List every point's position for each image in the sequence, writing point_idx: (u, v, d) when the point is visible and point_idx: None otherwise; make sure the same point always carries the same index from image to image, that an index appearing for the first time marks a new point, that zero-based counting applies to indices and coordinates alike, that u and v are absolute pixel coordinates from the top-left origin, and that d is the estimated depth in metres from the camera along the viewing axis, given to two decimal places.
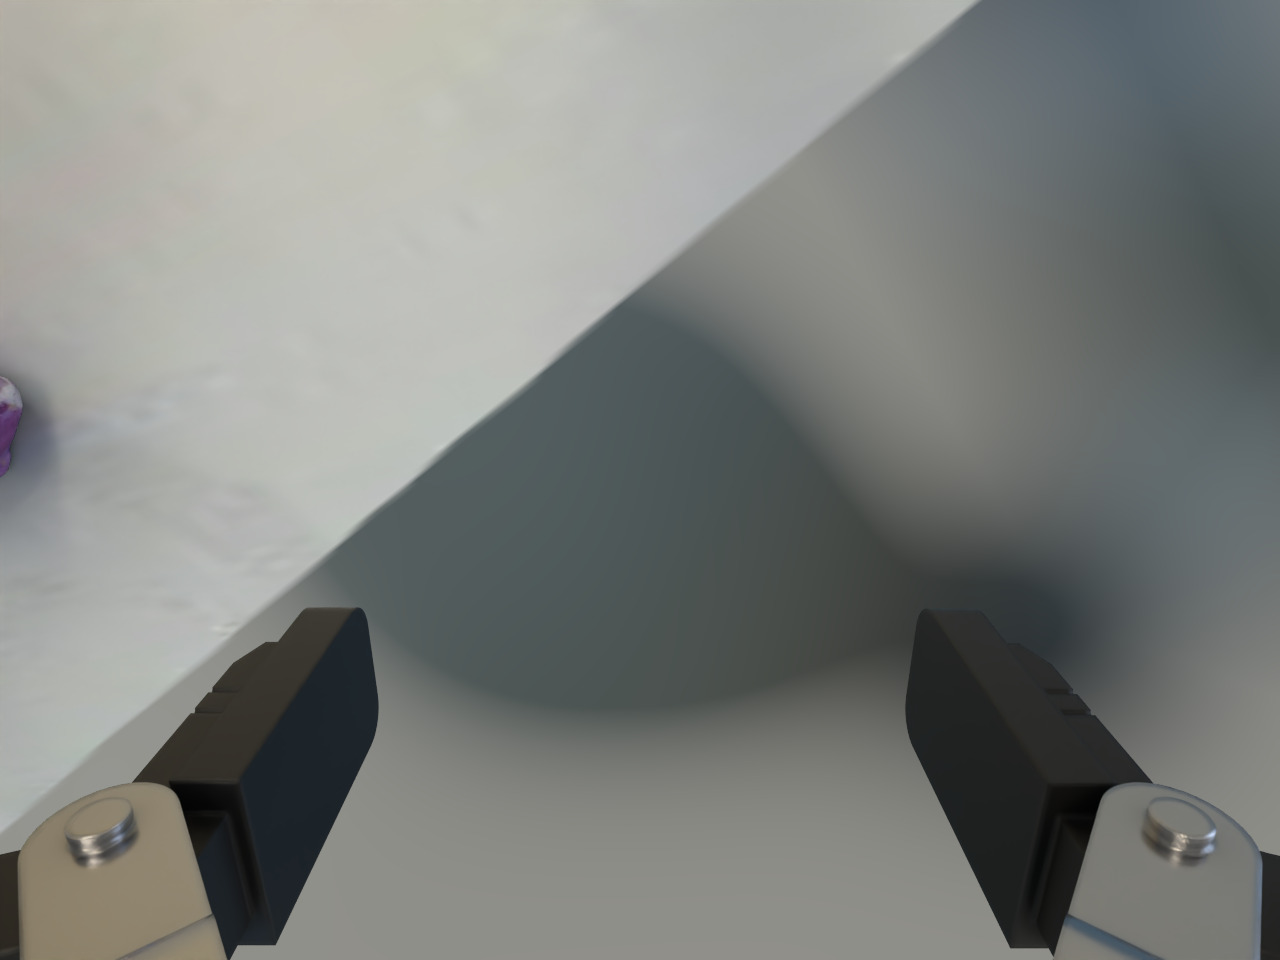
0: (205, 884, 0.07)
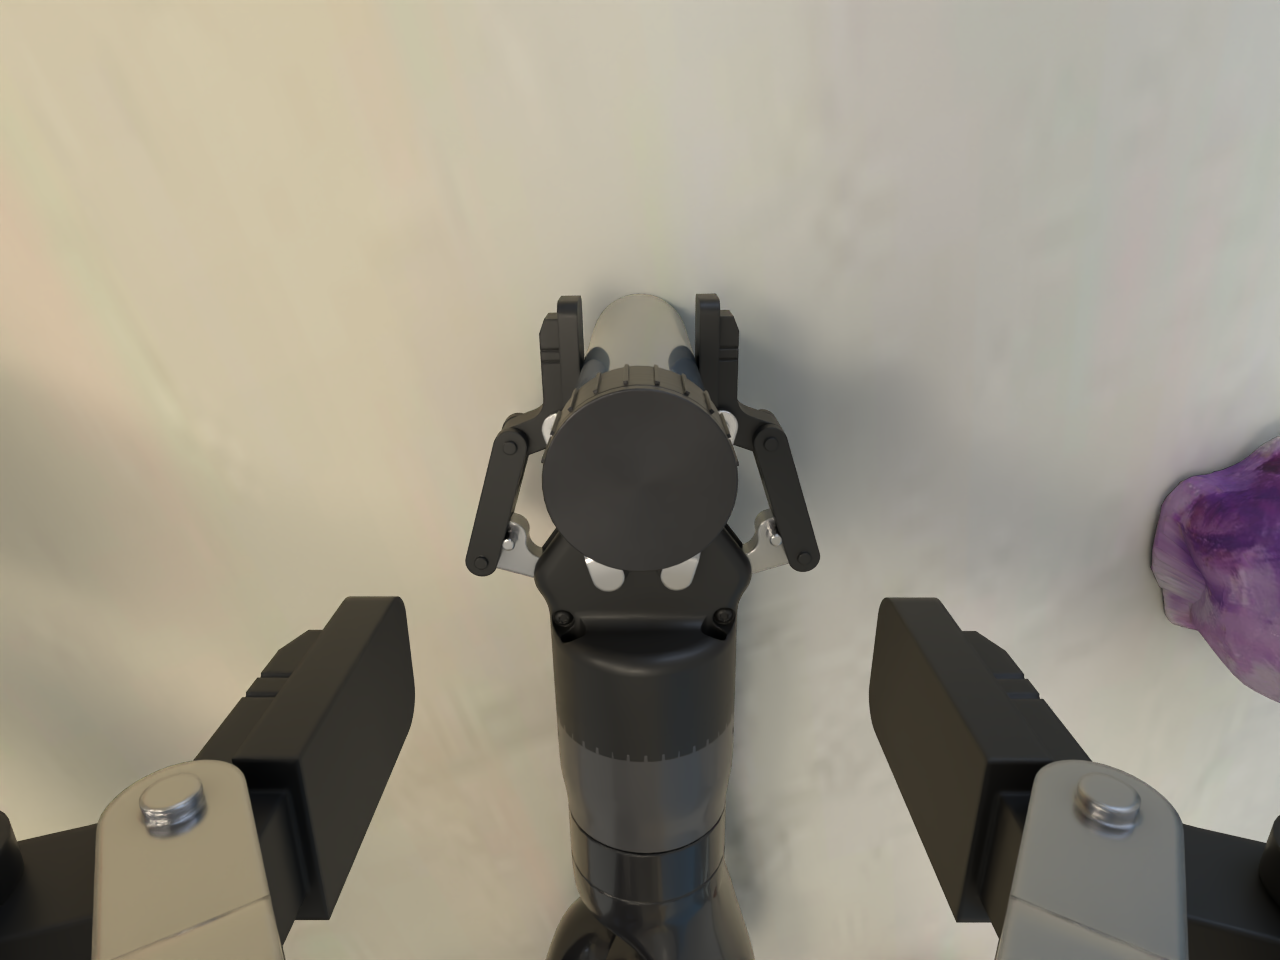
0: (268, 858, 0.08)
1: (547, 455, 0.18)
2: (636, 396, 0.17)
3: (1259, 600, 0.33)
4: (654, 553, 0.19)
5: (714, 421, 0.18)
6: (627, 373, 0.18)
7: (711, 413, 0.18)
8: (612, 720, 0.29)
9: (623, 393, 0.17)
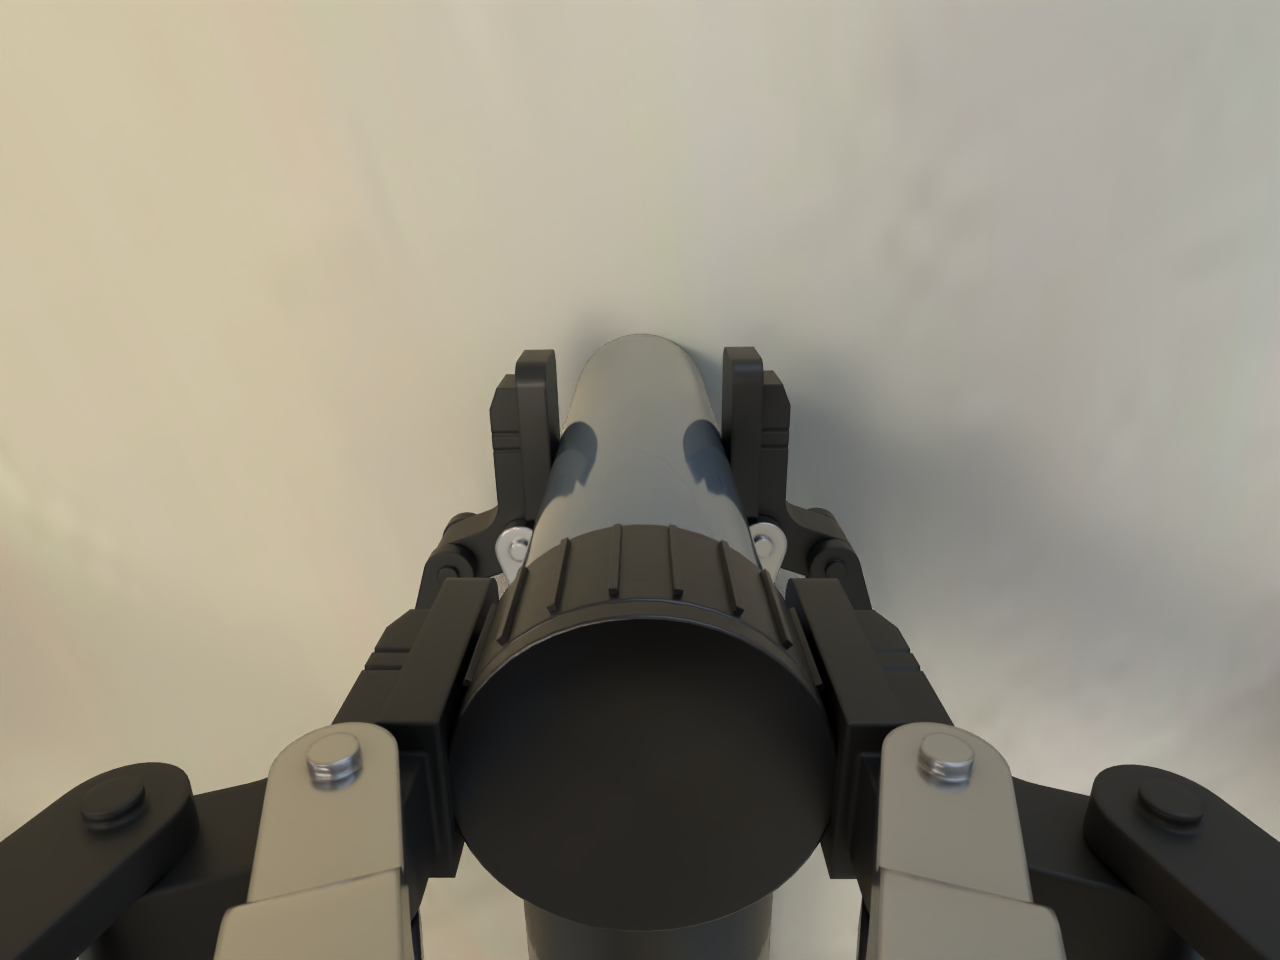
0: (414, 814, 0.08)
1: (454, 737, 0.09)
2: (635, 630, 0.08)
3: None
4: (670, 903, 0.10)
5: (796, 675, 0.09)
6: (617, 559, 0.09)
7: (787, 649, 0.09)
8: None
9: (608, 626, 0.08)
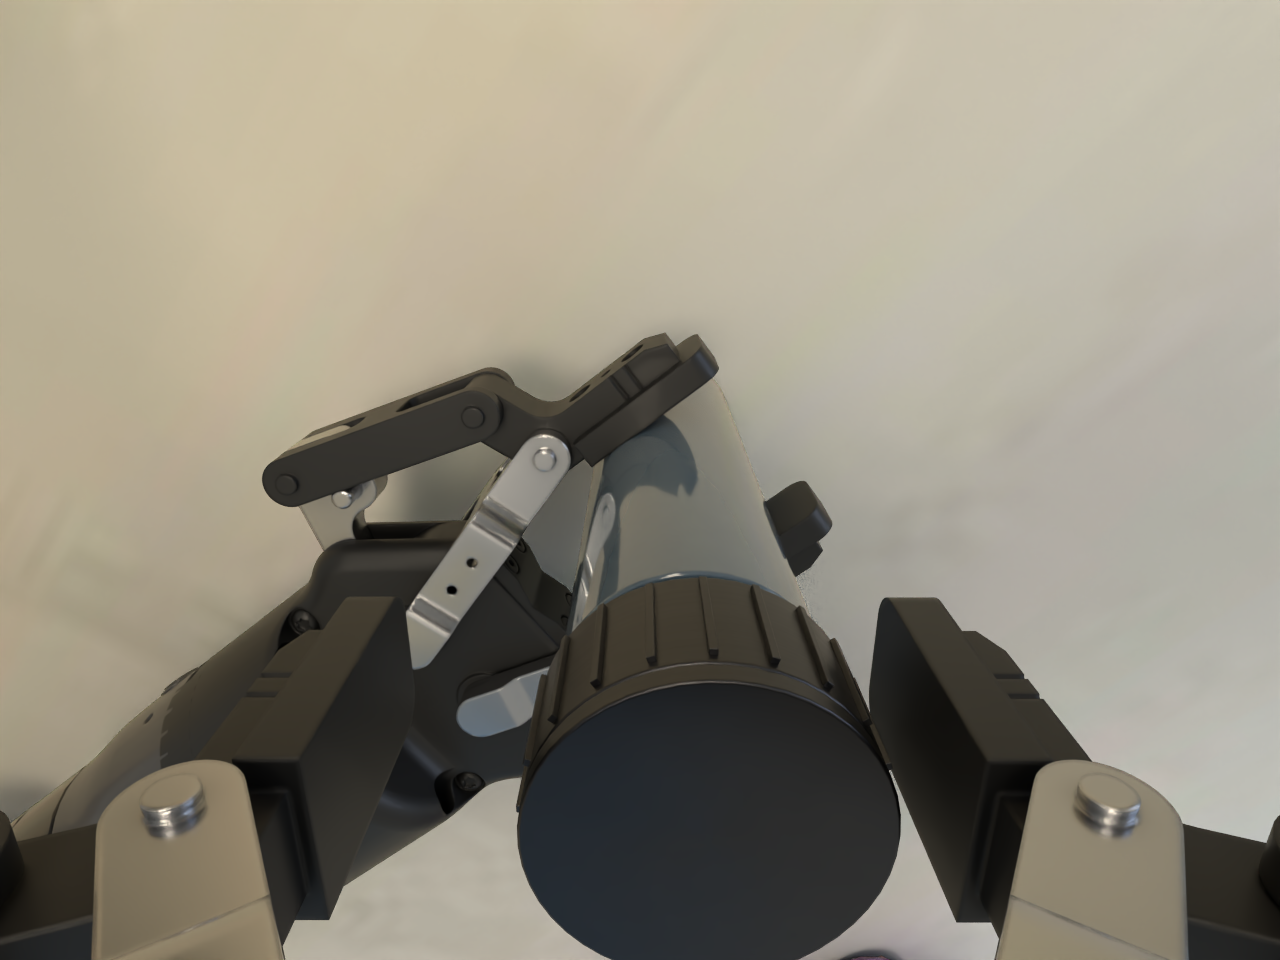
0: (268, 857, 0.08)
1: (544, 905, 0.10)
2: (575, 744, 0.09)
3: None
4: (827, 906, 0.10)
5: (725, 679, 0.09)
6: (556, 680, 0.10)
7: (715, 656, 0.09)
8: None
9: (552, 757, 0.09)
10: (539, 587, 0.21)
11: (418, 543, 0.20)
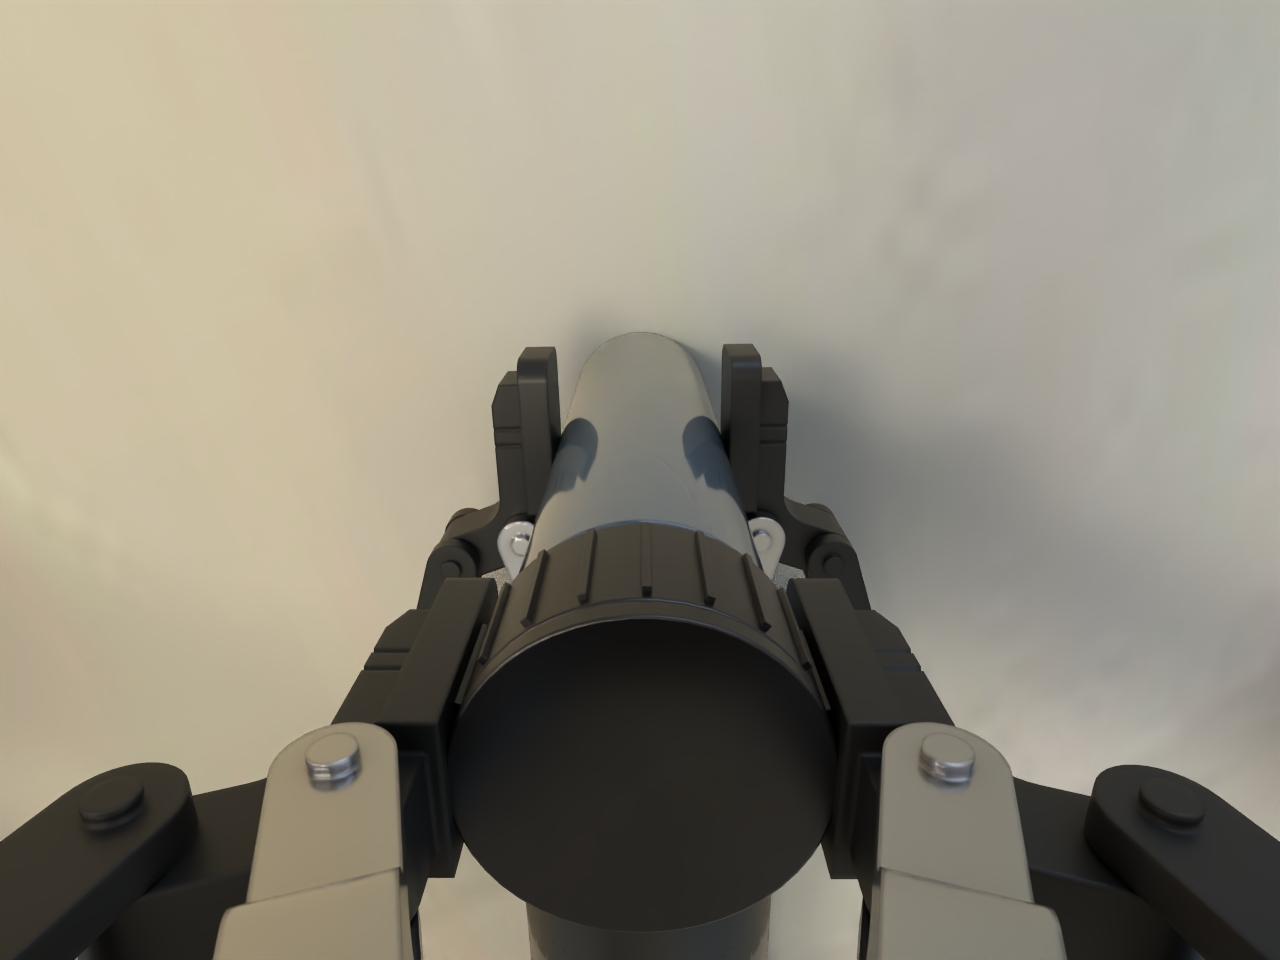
0: (413, 814, 0.08)
1: (611, 929, 0.10)
2: (465, 815, 0.09)
3: None
4: (793, 746, 0.09)
5: (482, 681, 0.09)
6: None
7: (483, 663, 0.09)
8: (601, 952, 0.21)
9: (464, 838, 0.09)
10: None
11: None
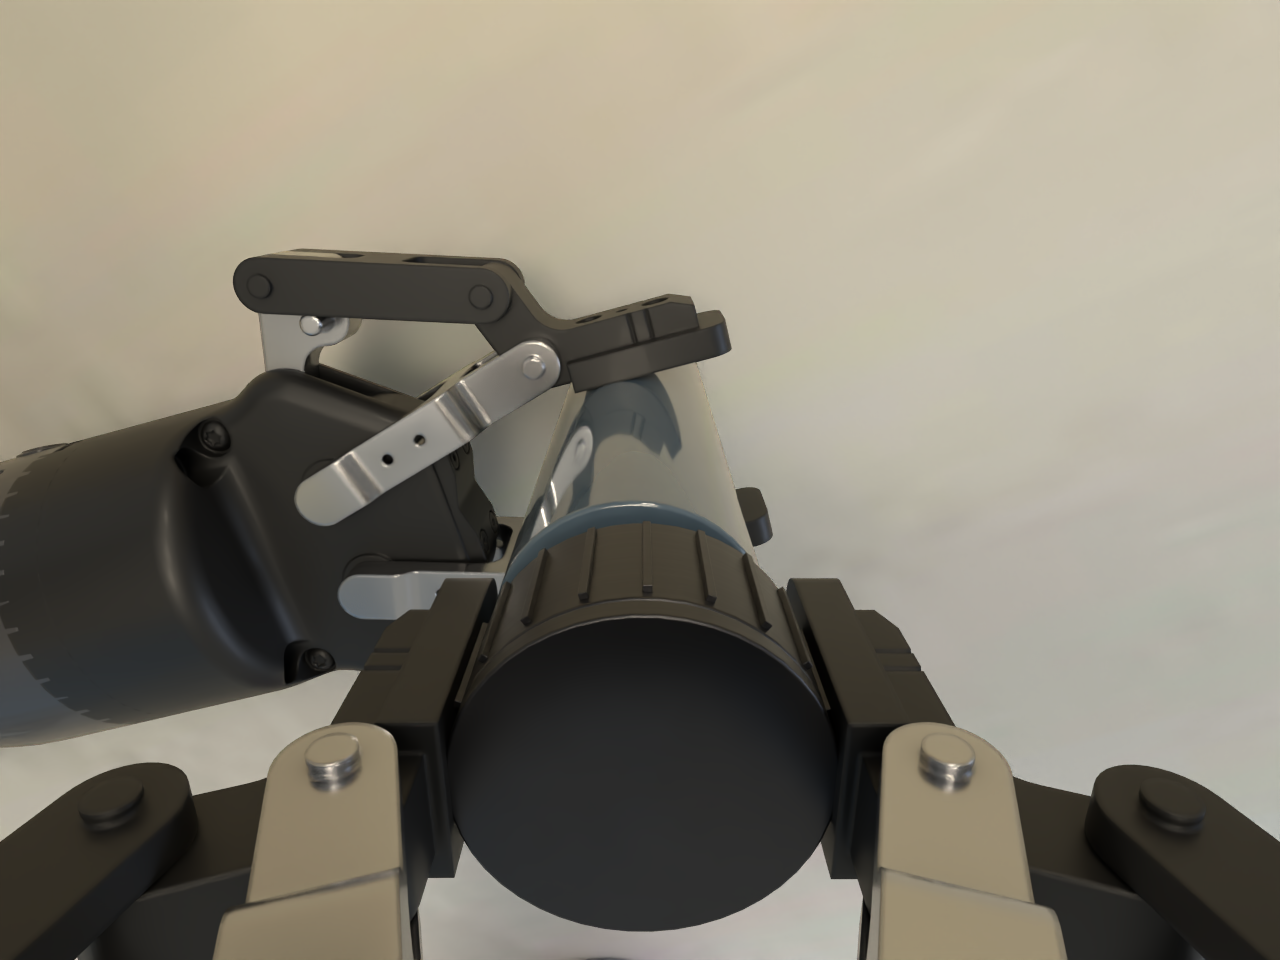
0: (413, 814, 0.08)
1: (610, 928, 0.10)
2: (465, 814, 0.09)
3: None
4: (793, 745, 0.09)
5: (483, 679, 0.09)
6: None
7: (484, 662, 0.09)
8: (70, 588, 0.17)
9: (464, 836, 0.09)
10: (468, 493, 0.20)
11: (369, 401, 0.18)
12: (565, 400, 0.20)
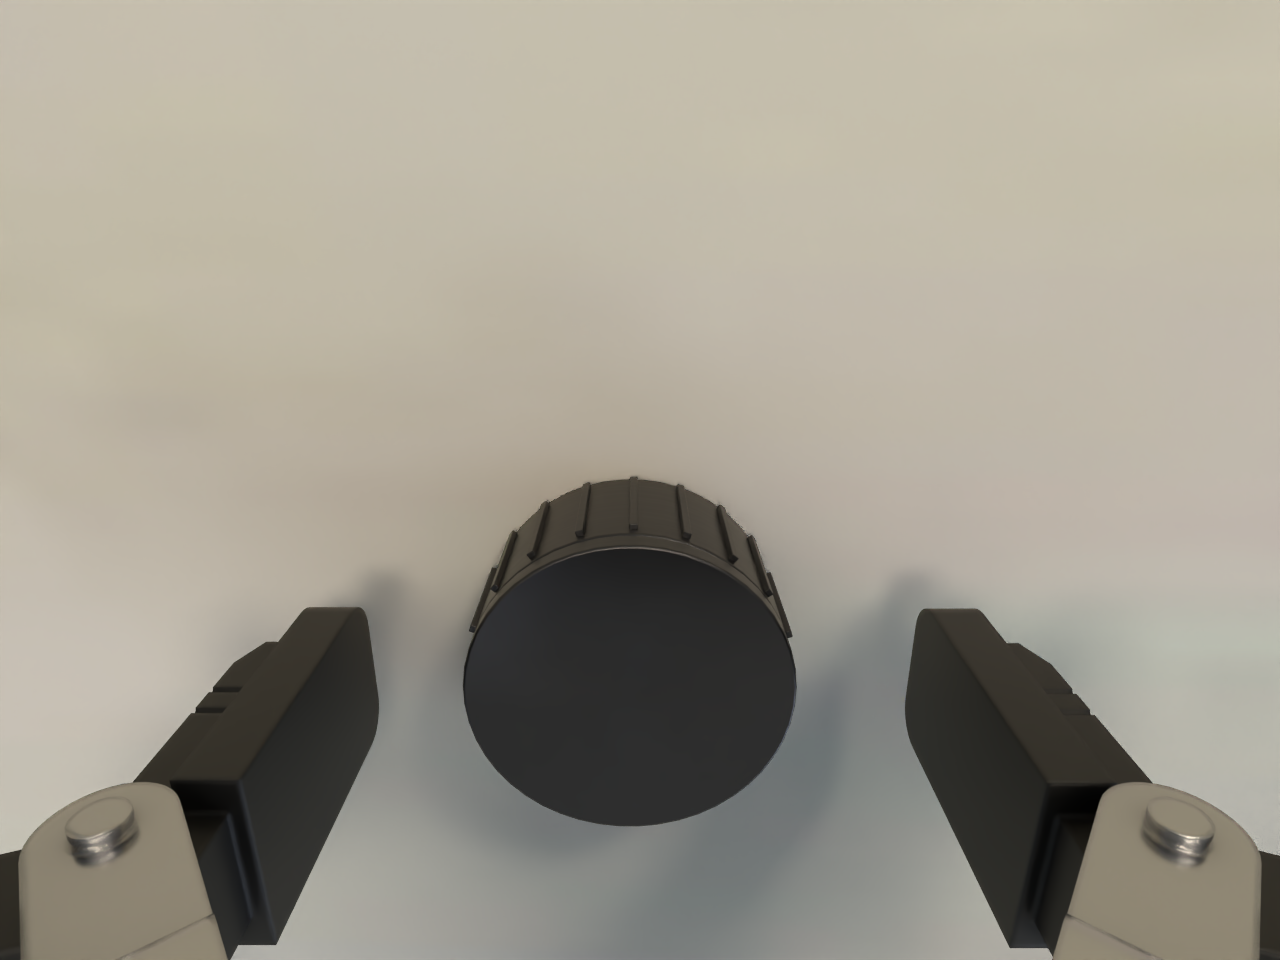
0: (206, 883, 0.07)
1: (603, 823, 0.11)
2: (480, 721, 0.11)
3: None
4: (756, 659, 0.10)
5: (495, 602, 0.10)
6: None
7: (496, 590, 0.11)
8: None
9: (479, 740, 0.11)
10: None
11: None
12: None
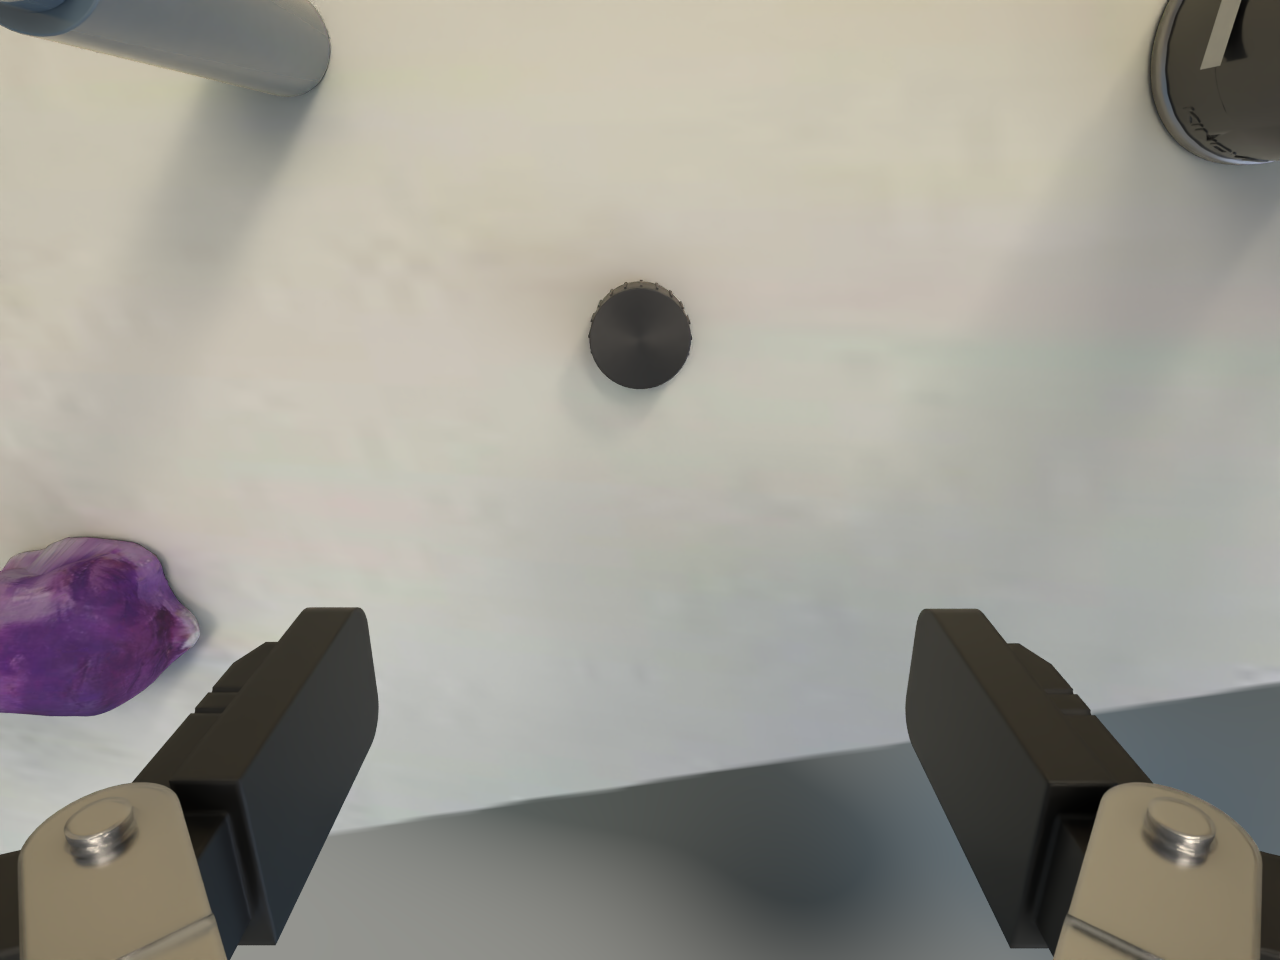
0: (205, 884, 0.07)
1: (631, 387, 0.36)
2: (594, 348, 0.35)
3: (16, 608, 0.36)
4: (678, 326, 0.35)
5: (600, 307, 0.35)
6: None
7: (599, 306, 0.35)
8: None
9: (593, 355, 0.35)
10: None
11: None
12: None
